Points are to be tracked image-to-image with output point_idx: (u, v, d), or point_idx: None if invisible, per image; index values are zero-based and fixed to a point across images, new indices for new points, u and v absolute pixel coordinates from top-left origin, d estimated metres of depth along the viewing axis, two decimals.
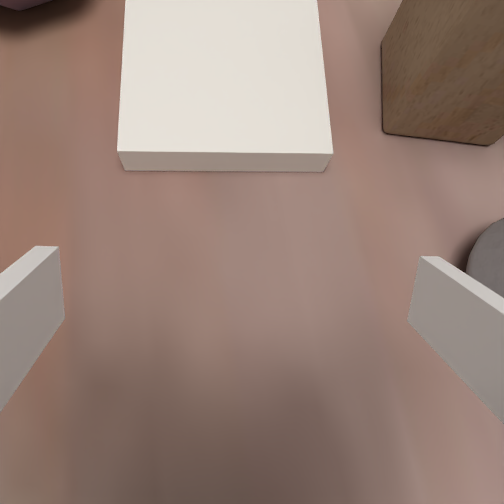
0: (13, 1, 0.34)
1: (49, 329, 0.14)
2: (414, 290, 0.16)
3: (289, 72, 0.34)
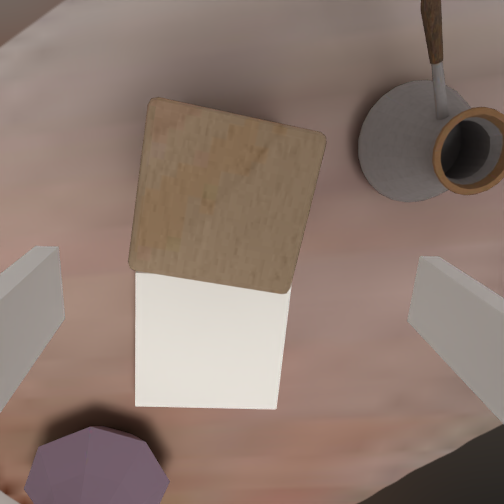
0: None
1: (49, 329, 0.14)
2: (414, 290, 0.16)
3: (220, 303, 0.45)
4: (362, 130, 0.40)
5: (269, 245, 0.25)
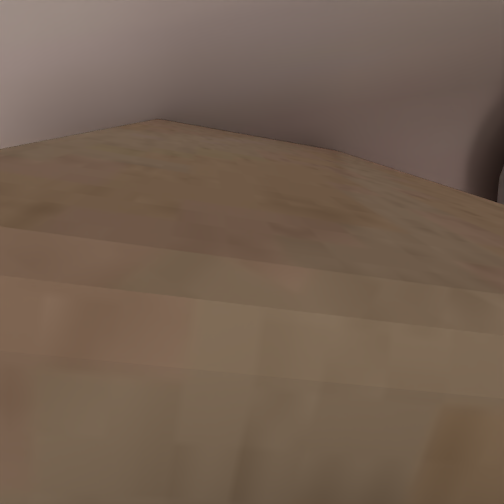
0: None
1: None
2: None
3: None
4: None
5: None
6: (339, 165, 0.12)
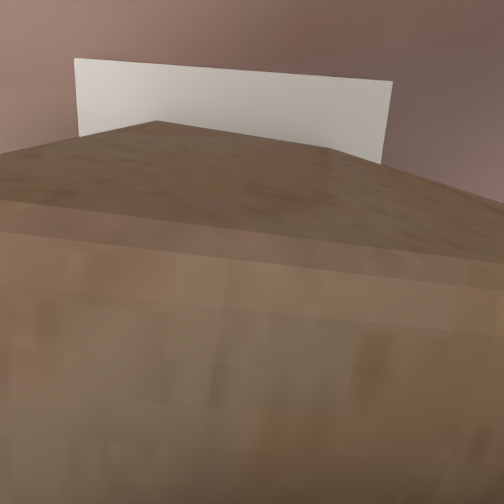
0: None
1: None
2: None
3: (250, 131, 0.22)
4: None
5: None
6: (325, 161, 0.13)
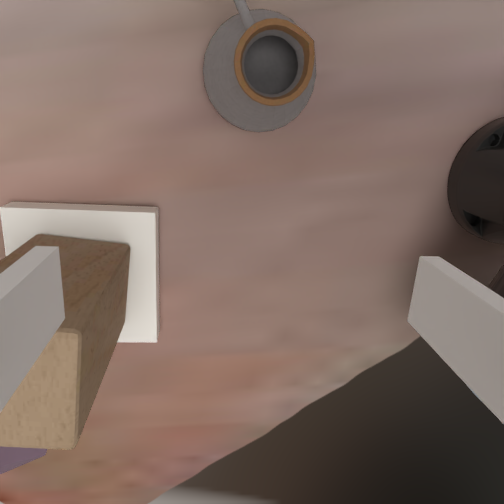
0: None
1: (49, 329, 0.14)
2: (414, 290, 0.16)
3: (87, 236, 0.46)
4: (204, 60, 0.42)
5: (47, 416, 0.30)
6: (72, 273, 0.37)
